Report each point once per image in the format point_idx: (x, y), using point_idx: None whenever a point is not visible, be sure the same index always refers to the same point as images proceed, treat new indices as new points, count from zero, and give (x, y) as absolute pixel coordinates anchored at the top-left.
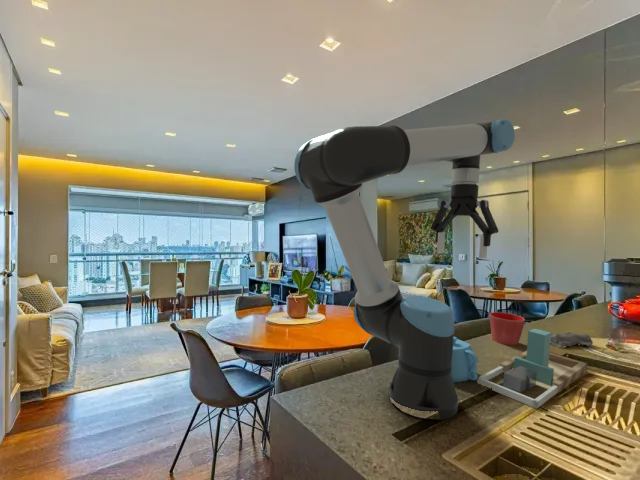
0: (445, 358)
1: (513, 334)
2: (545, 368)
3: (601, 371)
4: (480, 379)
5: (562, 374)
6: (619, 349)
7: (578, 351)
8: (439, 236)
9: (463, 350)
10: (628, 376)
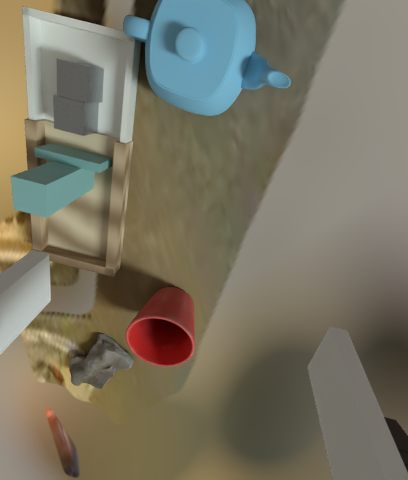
0: None
1: (147, 303)
2: (46, 150)
3: None
4: None
5: None
6: (47, 372)
7: (80, 333)
8: (384, 458)
9: (152, 22)
10: None
